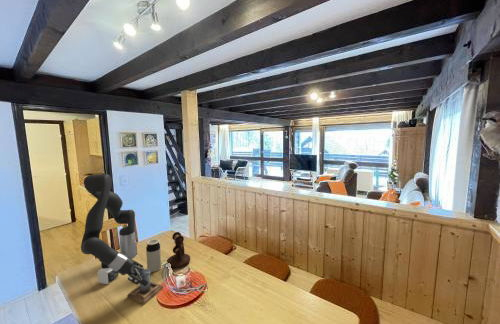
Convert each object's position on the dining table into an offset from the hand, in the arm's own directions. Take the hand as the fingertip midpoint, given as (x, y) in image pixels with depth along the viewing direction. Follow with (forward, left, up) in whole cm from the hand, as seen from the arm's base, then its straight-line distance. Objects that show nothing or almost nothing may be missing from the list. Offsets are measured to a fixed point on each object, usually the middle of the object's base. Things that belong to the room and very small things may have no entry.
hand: (147, 279), depth 110 cm
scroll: (-28, -4, -8) cm, 30 cm away
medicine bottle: (+1, -30, -8) cm, 31 cm away
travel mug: (-17, -14, -8) cm, 23 cm away
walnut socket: (+1, -1, -7) cm, 8 cm away
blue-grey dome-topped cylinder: (+1, -1, -6) cm, 6 cm away
